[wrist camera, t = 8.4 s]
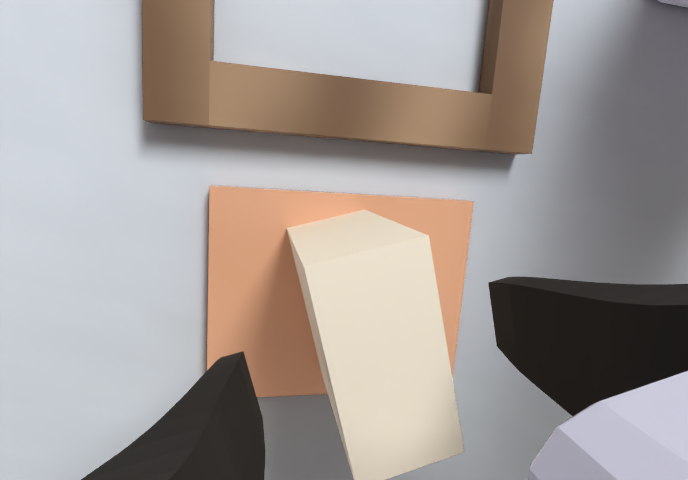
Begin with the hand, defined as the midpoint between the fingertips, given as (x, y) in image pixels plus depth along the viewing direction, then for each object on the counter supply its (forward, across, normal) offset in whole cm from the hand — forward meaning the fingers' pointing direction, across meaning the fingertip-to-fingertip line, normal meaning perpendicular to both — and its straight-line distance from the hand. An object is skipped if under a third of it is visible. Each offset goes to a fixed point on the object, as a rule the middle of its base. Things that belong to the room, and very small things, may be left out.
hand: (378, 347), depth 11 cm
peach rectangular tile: (+5, 0, 0) cm, 5 cm away
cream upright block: (+5, 0, 0) cm, 5 cm away
